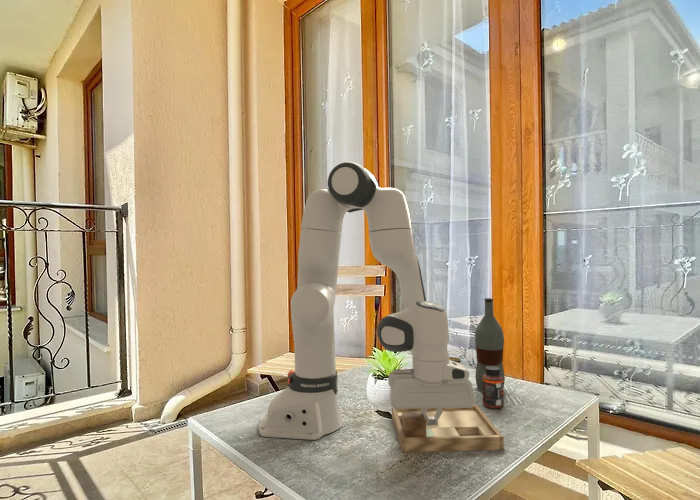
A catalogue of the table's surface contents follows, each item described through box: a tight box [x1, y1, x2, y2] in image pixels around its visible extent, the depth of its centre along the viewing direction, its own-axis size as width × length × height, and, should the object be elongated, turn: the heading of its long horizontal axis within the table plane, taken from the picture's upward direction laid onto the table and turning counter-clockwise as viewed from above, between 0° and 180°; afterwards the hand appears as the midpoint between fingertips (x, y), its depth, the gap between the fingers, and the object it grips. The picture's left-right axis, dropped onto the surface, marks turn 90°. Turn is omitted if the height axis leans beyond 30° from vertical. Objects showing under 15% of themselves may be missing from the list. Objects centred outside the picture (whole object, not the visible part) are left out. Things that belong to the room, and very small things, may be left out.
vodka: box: [474, 297, 506, 392], centre depth 139 cm, size 9×9×30 cm
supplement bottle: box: [482, 366, 505, 410], centre depth 125 cm, size 6×6×11 cm
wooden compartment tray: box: [391, 403, 505, 453], centre depth 108 cm, size 24×20×3 cm
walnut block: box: [401, 412, 426, 437], centre depth 101 cm, size 5×5×5 cm
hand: (431, 425), depth 102 cm, fingers closed
